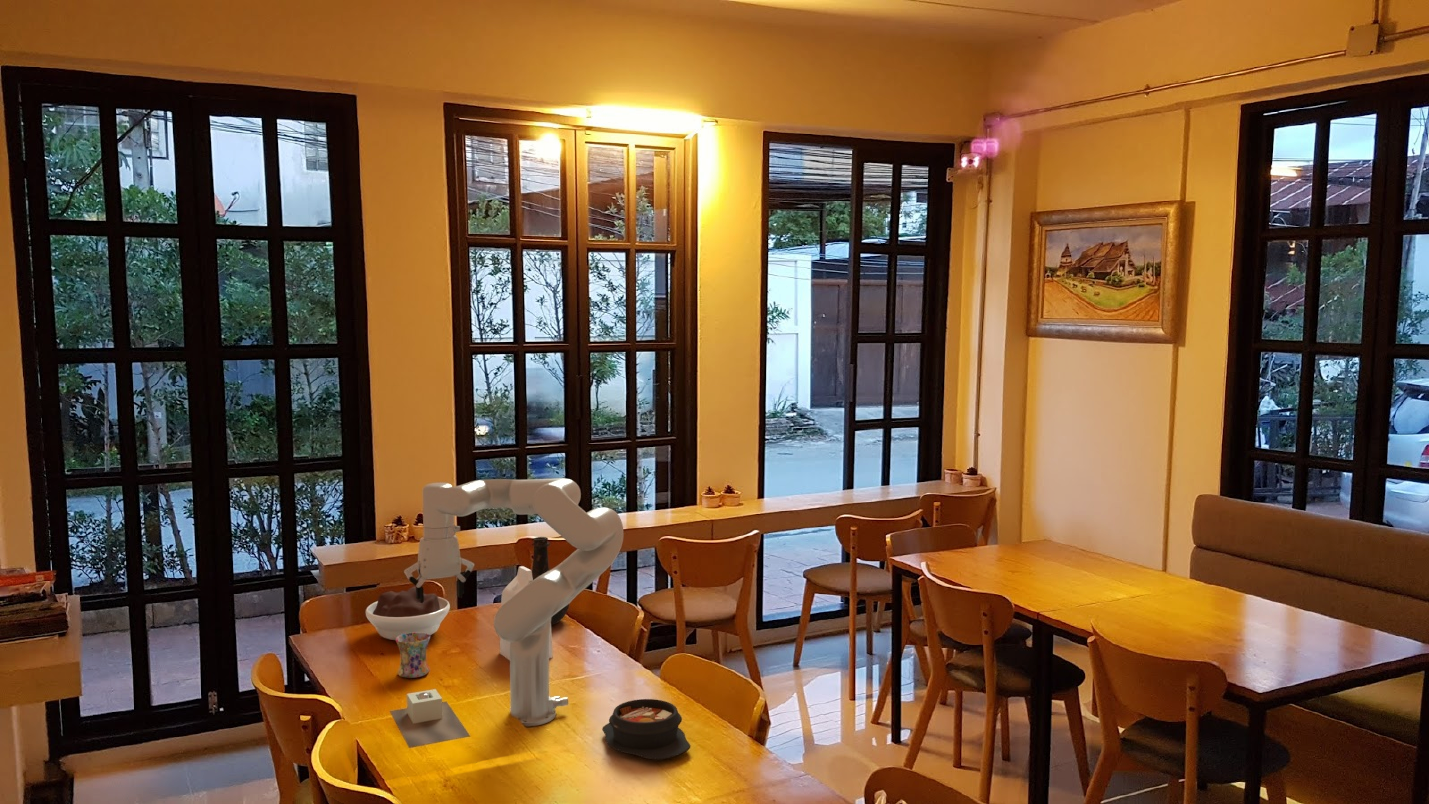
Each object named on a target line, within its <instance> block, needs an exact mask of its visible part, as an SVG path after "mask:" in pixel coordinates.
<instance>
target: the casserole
mask: <svg viewBox="0 0 1429 804" xmlns="http://www.w3.org/2000/svg"><path fill="white" fill-rule="evenodd" d="M682 720H683V718H682V715H681V714H680V713H679V711H678V707H676V706H675V704H673V703H672V702H668V701H666V700H661V699H654V698H653V699H652V698H643V699H642V698H640V699H633V700H629V701H625V702H622V703H620V704H618V705H617V706H615V708H614V709H613V712H612V714H611V715H610V717H609V719H608V723H606V724H605V725H604V726H602V728H601V730H602V732H603V733H604V736H605V742H606V744H607V745H608V746H609V747H610V748H612V749H614V750H616V751H617V752H621V753H623V754H624V753H625V754H629V755H634V756H638V757H641V758H644V759H647V760H653V761H654V760H665V759H669V758H673V757H674V758H675V757H677V756H680V755H683V754H684V753H686V752H688V751H689V750H690V749H691V744H690V743H689V741H688V740H687V738H686V734H685V732H684V731H683V730H682V728H679V726H680V724H681V723H682Z"/></svg>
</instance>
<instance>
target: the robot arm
mask: <svg viewBox="0 0 1429 804" xmlns="http://www.w3.org/2000/svg"><path fill="white" fill-rule="evenodd" d="M581 495H582V493H581V488H580V486H579V485H578V484H577V482H576V481H574V480H572V479H570V478H562V477H560V478H558V477H557V478H555V477H554V478H537V479H536V478H535V479H534V478H533V479H512V478H511V479H510V478H509V479H507V478H495V479H494V478H492V479H491V478H490V479H477V480H471V481H469V482H466V483H463V484H460V485H456V486H453V485H452V484H450V483H448V482H432V483H428V484H427V483H426V485H424V487H422V520H423V523H422V524H423V525H422V526H423V537H421V538H420V540H419V545H418V552H417V562H415V563H413V564H412V565H411V566H409V567H406V568H405V569H404V570H403V573H404V574H405V576H406V578H407V579H408V581H409V582H410V583H411V584H413V585H414V586H416V599H418V600H419V602H420V603H423V602H424V593H425V592H424V591H425V590H424V587H423V585H424V583H425V582H426V580H432V579H442V578H443V579H444V578H450V577H456V578H457V580H456V582H455V583H456V587H455V588H456V596H457V597H458V598H460V599H462V598H463V594H465V582H466V581H467V579H468V578H469V577H470V576H471V574H472V572H473V569H474V567H475V563H474V562H472V561H470V560H469V559H465V558H463V557H461V552H460V550H461V549H460V544H459V540H458V536H457V535H456V534H457V532H461V526H460V525H456V524H455V516H456V517H466V516H469V515H471V514H474V513H475V512H478V511H481V510H485V509H510V510H512V511H513V513H514V514H516V515H521V516H522V515H538V517H539V518H540V519H542V521H544V522H545V523H546V524H547V525H548V526H549V527H550V528H551V529H553V530H554V531H555V532H556V533H557V534H558V535H559V536H560V537H562V538H563V539H564V540H565V541H566V542H567V543H569V544H570V545H571V546H572V547H574V548H576V550H574V551H573V552H572V553H571V554H570V555H569V556H567V558H565V559H564V560H563V561H562V562H561V563H559V564H558V565H556V566H555V567H553V568H551V569H549V571H547V572H545V573H544V574H542V575H540V576H539V577H537V578H536V579H534V580H533V581H532V582H530V583H529V584H528V585H527V586H525V587H524V588H523V589H522V590H521V591H519V592H518V593H517V594H516V595H515V596H513V597H512V598H511V599H510V600H509V601H507V602H506V603H505V604H504V605H502V606H500V607H499V608H498V610H497V611H496V613H495V616H494V618H493V619H494V620H493V626H494V627H493V628H494V630H495V633H496V634H497V635H498V637H499V639H500V638H502V639H503V640H505V641H509V642H510V660H509V676H510V677H509V679H510V681H509V683H510V687H509V689H510V692H509V693H510V707H509V710H510V715H511V716H512V717H513V718H516V719H518V721H519V722H520V723H521V724H522V725H523V727H535V726H536V727H537V726H541V725H545V724H547V723H550V722H551V721H553V720H554V719H555V718H556V716H557V715H556V713H557V711H556V709H557V707H564V706H568V705H569V699H568V697H567V696H566V697H560V695H557V696H553V697H552V696H551V695H550V658H549V633H550V625H551V617H552V616H553V615H555V614H556V613H557V612H559V611H560V610H561V609H563V608H564V607H565V606H567V605H568V604H569V605H570V603H571V602H572V601H573V600H574V599H575V598H576V597H577V596H578V595H580V593H582V591H584V590H585V589H586V588H588V587H589V586H590V585H591V584H592V583H593V582H595V581H596V579H597V578H599V577H600V576H601V575H602V574H603V573H604V572H605V571H607V569H609V567H610V566H611V565H612V564H613V563H614V562H615V560H616V558H617V557H618V555H619V553H620V550H621V549H622V545H623V542H624V526H623V522H622V518H621V517H620V515H619V514H618V513H617V512H616V511H615V510H614V509H612V508H609V507H597V508H593V509H591V510H589V511H587V512H586V511H585V510H584V509H583V508H582V507H581V506H579V503H580V501H581V498H582V497H581ZM462 565H463V566H466V569H465V570H464V571H463V572H462ZM415 571H417V573H418V577H417V578H416V577H414V576H413V572H415ZM551 626H552V625H551Z"/></svg>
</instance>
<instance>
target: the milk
mask: <svg viewBox="0 0 1429 804" xmlns="http://www.w3.org/2000/svg"><path fill="white" fill-rule="evenodd" d="M532 581H533V577H532V569H529V568H527V567H525V566H523V565H521V566H518V569H517V574H516V576H515V577H514V578H513V579H512V580H511V581H510V582H509V583H508V584H507V585H506V587H504V588H503V590H502V592H501V601H500V603H501V606H502V605H504V604H505V603H506V602H507V601H509V600H510V599H511V598H512V597H513V596H515V595H516V594H517V593H518V592H519V591H521V590H522V589H523V588H524V587H525V586H527V585H528V584H529V583H530V582H532ZM501 606H500V607H501ZM499 654H500V655H501V656H503V657H505V659H506V660H508V661H510V642H509V641H505V640H503V639H502V638H500V637H499ZM552 658H554V651H553V639H552V625H550V633H549V659H552Z"/></svg>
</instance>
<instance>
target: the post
mask: <svg viewBox="0 0 1429 804" xmlns="http://www.w3.org/2000/svg"><path fill="white" fill-rule="evenodd" d="M427 698H429V693H426V692H424V693H420V694H419V700H421V699H427Z"/></svg>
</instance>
